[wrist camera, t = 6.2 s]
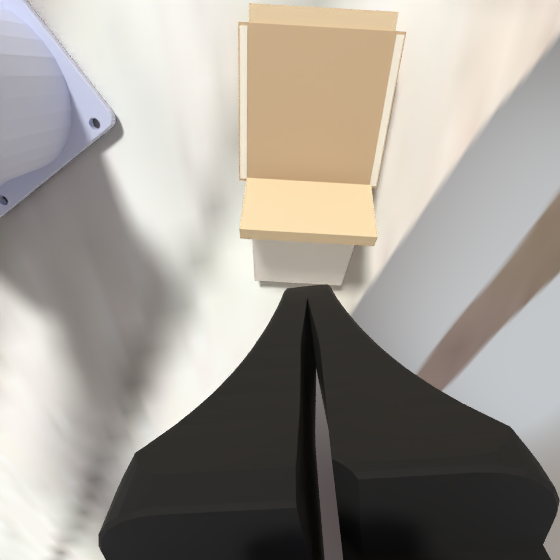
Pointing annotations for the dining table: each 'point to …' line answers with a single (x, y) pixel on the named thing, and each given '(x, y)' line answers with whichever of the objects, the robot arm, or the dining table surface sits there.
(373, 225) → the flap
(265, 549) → the robot arm
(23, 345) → the dining table surface
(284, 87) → the carton
